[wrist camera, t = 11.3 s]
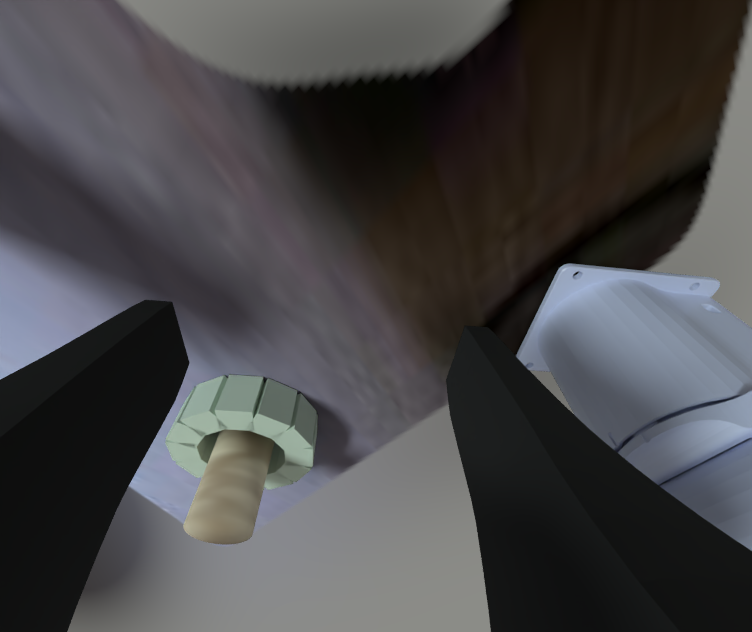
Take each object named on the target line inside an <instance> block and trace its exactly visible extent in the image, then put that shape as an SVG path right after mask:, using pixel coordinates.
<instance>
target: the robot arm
mask: <svg viewBox="0 0 752 632" xmlns="http://www.w3.org/2000/svg"><path fill="white" fill-rule="evenodd" d="M576 272H579V273H578V274H577V275H575V276H573V274H574V273H576ZM692 284H693V285H692ZM719 286H720V283H719V281H717V280H716V279H714V278H711V277H700V276H690V275H681V274H670V273H660V272H650V271H640V270H630V269H620V268H610V267H600V266H589V265H579V264H565V265H563V266H561V267H560V268H559V269H558V271H557V273H556V275H555V277H554V279H553V281H552V283H551V285H550V287H549V289H548V291H547V293H546V295H545V297H544V299H543V302H542V304H541V306H540V308H539V310H538V312H537V314H536V316H535V318H534V320H533V322H532V324H531V326H530V328H529V330H528V332H527V334H526V336H525V338H524V340H523V342H522V344H521V346H520V349H519V351H518V353H517V355H516V356H515V355H514V354H513V353H512V352H511V351H510V350H509V348H508V347H507V346H506V345H505V344H504V343H503V342H502V341H501V340H500V339H499V338H498V337H497V336H496V335H495V334H494V333H493V332H492V331H491V330H490V329H489V328H488V327H475V326H465V327H464V330H463V333H462V336H461V339H460V342H459V345H458V347H457V350H456V353H455V356H454V359H453V362H452V365H451V368H450V371H449V374H448V376H447V379H446V383H447V393H448V402H449V409H450V416H451V421H452V425H453V429H454V433H455V437H456V441H457V445H458V449H459V453H460V457H461V461H462V464H463V469H464V473H465V477H466V480H467V485H468V488H469V492H470V496H471V501H472V505H473V510H474V515H475V520H476V526H477V532H478V539H479V545H480V552H481V558H482V565H483V572H484V579H485V587H486V595H487V602H488V609H489V617H490V627H491V632H752V328H751V327H750V326H749V325H747V324H746V323H745V322H743V321H742V320H741V319H739V318H738V317H737V316H735V315H734V314H733V313H731V312H730V311H728V310H727V309H726V308H724V307H723V306H722V305H720V304H719V303H718V302H716V301H715V300H713V299H712V298H711V296H712V295H713V294H714V293H715V292H716V291H717V290H718V288H719ZM527 363H529V364H527ZM188 366H189V360H188V356H187V353H186V349H185V346H184V342H183V338H182V335H181V331H180V328H179V324H178V321H177V317H176V314H175V310H174V307H173V303H172V302H167V301H154V300H144V301H142V302H140V303H138V304H136V305H134V306H132V307H130V308H129V309H127V310H125V311H123V312H121V313H120V314H118V315H116V316H114V317H113V318H111V319H109V320H107V321H106V322H104V323H102V324H100V325H99V326H97V327H95V328H94V329H92V330H90V331H88V332H87V333H85V334H83V335H81V336H80V337H78V338H76V339H74V340H73V341H71V342H69V343H67V344H65V345H64V346H62V347H60V348H58V349H57V350H55V351H53V352H51V353H50V354H48V355H46V356H44V357H42V358H40V359H38V360H37V361H35V362H33V363H31V364H29V365H27V366H25V367H23V368H21V369H20V370H18V371H16V372H14V373H12V374H10V375H8V376H6V377H4V378H3V379H1V380H0V632H67V631H68V628H69V625H70V623H71V620H72V617H73V614H74V612H75V609H76V606H77V604H78V601H79V599H80V596H81V594H82V591H83V589H84V586H85V584H86V581H87V579H88V576H89V574H90V571H91V569H92V566H93V564H94V561H95V559H96V556H97V554H98V552H99V549H100V547H101V544H102V542H103V540H104V538H105V535H106V533H107V531H108V528H109V526H110V524H111V521H112V519H113V517H114V515H115V512H116V510H117V508H118V506H119V504H120V502H121V500H122V497H123V496H124V494H125V492H126V489H127V488H128V486H129V484H130V482H131V480H132V478H133V477H134V475H135V473H136V471H137V469H138V468H139V466H140V464H141V462H142V460H143V459H144V457H145V455H146V453H147V451H148V449H149V448H150V446H151V444H152V442H153V440H154V439H155V437H156V435H157V433H158V431H159V430H160V428H161V426H162V424H163V422H164V420H165V419H166V417H167V415H168V413H169V411H170V409H171V407H172V405H173V404H174V402H175V400H176V397H177V395H178V392H179V390H180V387H181V385H182V382H183V379H184V377H185V374H186V371H187V368H188ZM529 370H533V371H547V372H551V373H552V375H553V377H554V379H555V380H556V382H557V384H558V386H559V388H560V389H561V391H562V393H563V395H564V396H565V398H566V400H567V402H568V404H569V405H570V407H571V409H572V411H573V413H574V414H573V413H572V412H571V411H570V410H568V409H567V408H566V407H565V406H564V405H563V404H562V403H561V402H560V401H559V400H558V399H557V398H556V397H555V396H554V395H553V394H552V393H551V392H550V391H549V390H548V389H547V388H546V387H545V386H544V385H543V384H542V383H541V382H540V381H539V380H538V379H537V378H536V377H535V376H534V375H533V374H532V373H531V372H530V371H529Z"/></svg>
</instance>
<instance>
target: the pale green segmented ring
mask: <svg viewBox="0 0 752 632" xmlns="http://www.w3.org/2000/svg"><path fill="white" fill-rule="evenodd" d="M316 412H317V411H316V410H315V409H314V408H313V407H312V405H311V404H310V403H309V402H308V401H307V400H306V398H305V397H304V396H303V395H302V394H301V393H300V394H297V390H295V389H292V388H290V387H288V386H285V385H283V384H281V383H279V382H276V381H274V380H272V379H269V378H268V379H267V380H266V382H265V383H264V380H263V377H259V376H243V375H229V377H228V378H227V377H226V376H225V375H223V376H221V377H218V378H215V379H212V380H209V381H206V382H203V383H200V384H198V385H197V387H194V388H193V390H192V391H191V393H190V395H189V396H188V398H187V399H186V401H185V402H184V404H183V406H182V408H181V410H180V412H179V414H178V416H177V418H176V420H175V422H174V424H173V425H172V427H171V429H170V431H169V433H168V435H167V437H166V442H165V443H166V445H167V448H168V450H169V452H170V455H171V457H172V459H173V461H176V464H177V465H179V466H180V467H182V468H183V469H185V470H186V471H187V472H189V473H190V474H192V475H193V476H195V477H196V478H199V477H203V474H204V471H205V469H206V466H207V464H208V461H209V459H210V456H211V453H212V451H213V448H214V446H215V443H216V441H217V438H218V435H219V433H220V431H221V430H224V429H227V430H246V431H252V432H255V433H257V434H260V435H263V436H265V437H268V438H271V439H272V440H273V441H275V443H274V447H273V451H272V455H271V459H270V464H269V468H268V472H267V476H266V480H265V484H264V488H267V489H268V490H270V489H274V488H278V487H282V486H286V485H290V484H293V482H294V481H295V482H297V481H298V480H299V479H301V478H302V477H303V476H304V475H305V474H306V473H308V472H309V471H310V470H311V469H312V467H313V461H314V453H315V445H316V438H317V423H318V414H316ZM264 488H263V490H264Z"/></svg>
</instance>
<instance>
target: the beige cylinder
mask: <svg viewBox="0 0 752 632" xmlns="http://www.w3.org/2000/svg"><path fill="white" fill-rule="evenodd" d="M274 443H275V441H273V440H272V439H271V438H268V437H265V436H263V435H260V434H257V433H255V432H252V431H246V430H227V429H224V430H221V431H220V433H219V435H218V438H217V441H216V443H215V446H214V448H213V451H212V453H211V456H210V459H209V461H208V464H207V466H206V469H205V471H204V474H203V477H202V479H201V482H200V484H199V487H198V489H197V492H196V495H195V497H194V500H193V502H192V505H191V507H190V510H189V513H188V515H187V518H186V520H185V523H184V526H183V527H184V530H185V532H186V533H187V534H189V535H190V536H192V537H193V538H196V539H198V540H201V541H204V542H208V543H214V544H237V543H241V542H244V541H247V540H248V539H250V538H251V537H252V534H253V530H254V526H255V522H256V518H257V513H258V509H259V505H260V501H261V497H262V493H263V488H264V484H265V480H266V476H267V472H268V468H269V464H270V459H271V455H272V451H273V447H274Z"/></svg>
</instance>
